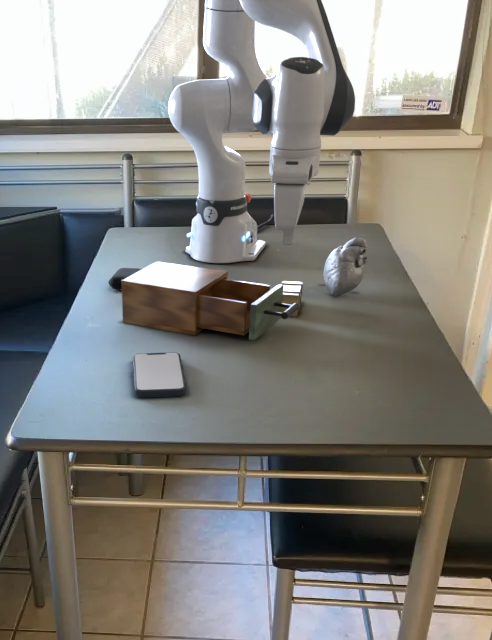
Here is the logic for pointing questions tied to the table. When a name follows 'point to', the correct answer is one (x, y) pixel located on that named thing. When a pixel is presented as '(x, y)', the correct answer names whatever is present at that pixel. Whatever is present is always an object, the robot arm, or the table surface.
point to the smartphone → (158, 375)
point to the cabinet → (166, 296)
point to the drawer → (241, 307)
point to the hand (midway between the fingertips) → (287, 242)
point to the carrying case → (121, 277)
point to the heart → (345, 267)
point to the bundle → (292, 294)
